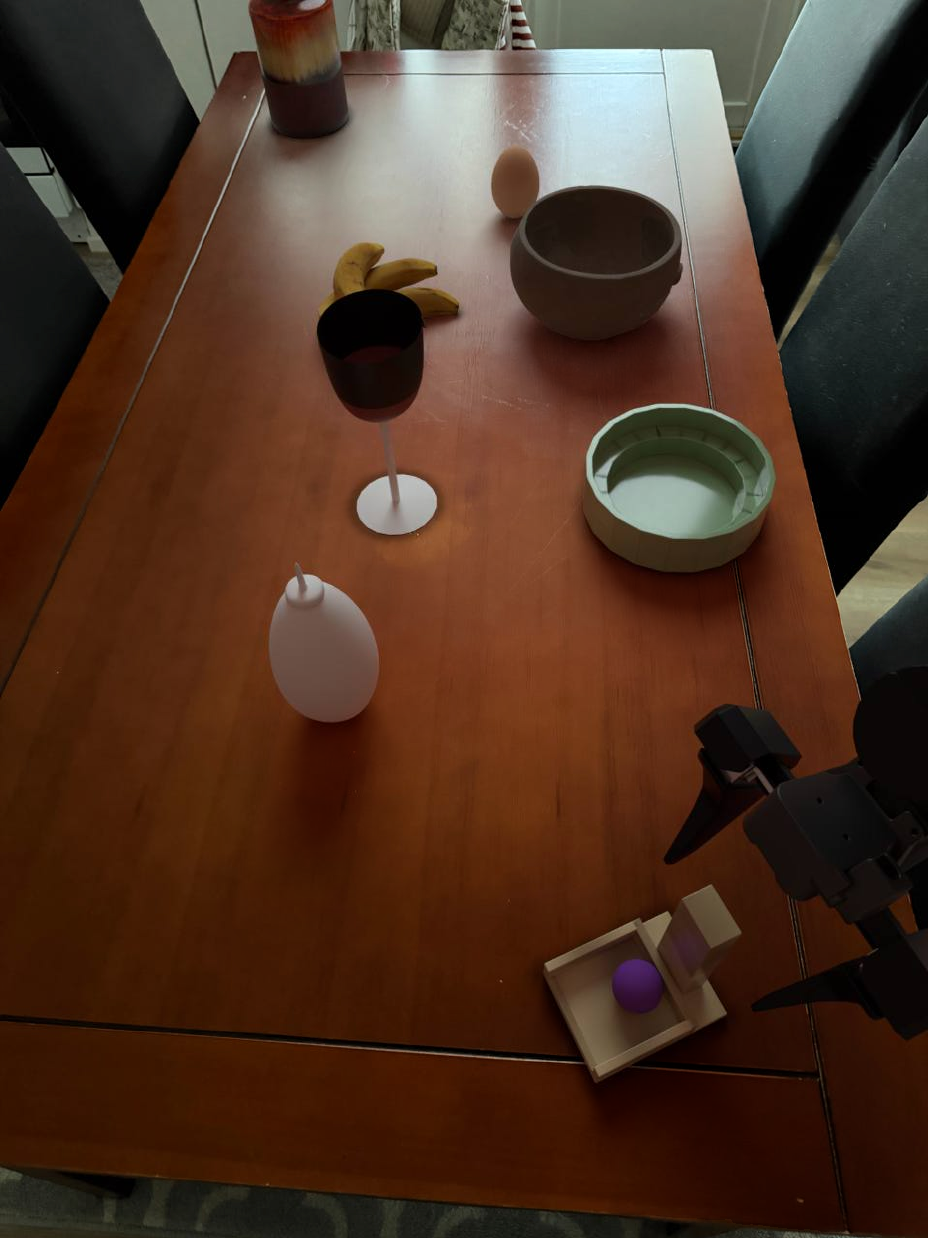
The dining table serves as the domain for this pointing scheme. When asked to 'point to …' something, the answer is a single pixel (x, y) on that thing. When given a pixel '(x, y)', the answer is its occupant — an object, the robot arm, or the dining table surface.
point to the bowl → (595, 260)
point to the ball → (637, 986)
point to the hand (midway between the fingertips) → (709, 931)
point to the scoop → (684, 964)
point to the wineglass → (379, 392)
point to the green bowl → (677, 487)
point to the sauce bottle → (322, 650)
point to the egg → (515, 182)
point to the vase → (300, 65)
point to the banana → (388, 279)
